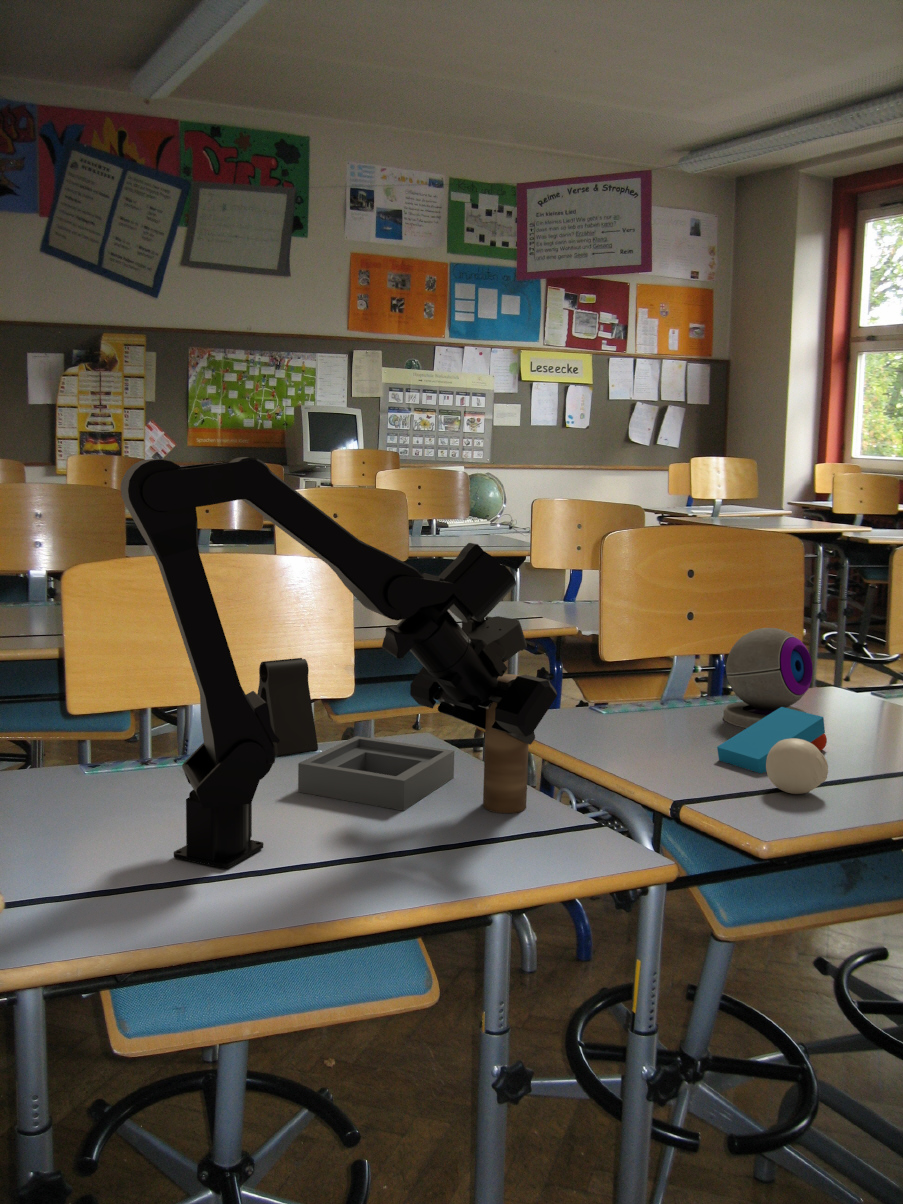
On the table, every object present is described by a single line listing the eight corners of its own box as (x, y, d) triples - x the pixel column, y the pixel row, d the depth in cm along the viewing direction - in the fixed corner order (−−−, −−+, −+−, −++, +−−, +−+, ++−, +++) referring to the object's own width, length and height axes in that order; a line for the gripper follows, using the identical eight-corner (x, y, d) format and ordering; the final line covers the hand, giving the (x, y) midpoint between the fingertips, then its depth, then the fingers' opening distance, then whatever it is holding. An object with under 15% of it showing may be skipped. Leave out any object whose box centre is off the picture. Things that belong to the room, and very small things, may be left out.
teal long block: (764, 806, 135) (843, 751, 144) (758, 759, 133) (839, 706, 142) (722, 792, 140) (801, 740, 150) (716, 746, 138) (797, 697, 148)
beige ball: (819, 805, 121) (823, 751, 120) (757, 793, 125) (761, 740, 124) (832, 791, 127) (836, 739, 126) (773, 780, 130) (776, 729, 130)
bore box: (403, 810, 115) (404, 780, 115) (298, 791, 121) (298, 763, 120) (453, 777, 128) (454, 750, 127) (356, 762, 133) (356, 736, 133)
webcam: (780, 736, 152) (787, 637, 150) (706, 719, 162) (712, 626, 160) (822, 723, 161) (829, 629, 159) (750, 708, 171) (756, 619, 169)
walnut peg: (517, 815, 114) (522, 685, 112) (476, 808, 116) (480, 680, 114) (532, 803, 119) (537, 677, 117) (492, 796, 121) (496, 672, 119)
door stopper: (318, 750, 138) (319, 664, 137) (277, 757, 135) (278, 668, 133) (288, 735, 145) (289, 652, 144) (249, 741, 142) (249, 656, 140)
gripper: (548, 605, 105) (612, 696, 113) (431, 586, 119) (497, 668, 127) (490, 689, 101) (561, 777, 109) (376, 659, 115) (447, 739, 123)
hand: (515, 736), depth 117 cm, fingers closed on walnut peg, 5 cm apart
